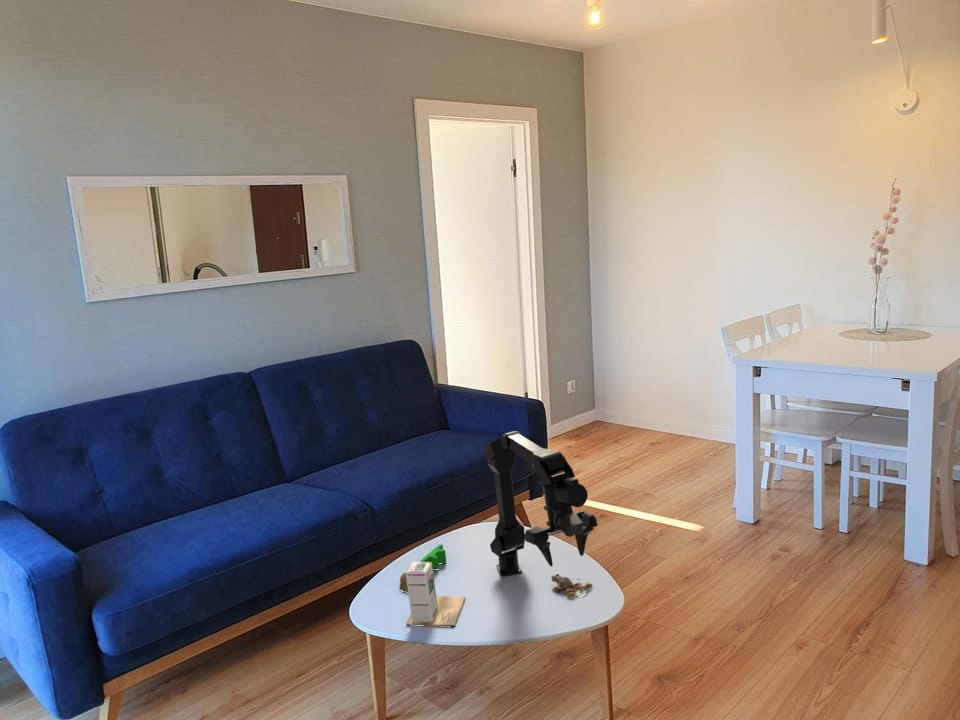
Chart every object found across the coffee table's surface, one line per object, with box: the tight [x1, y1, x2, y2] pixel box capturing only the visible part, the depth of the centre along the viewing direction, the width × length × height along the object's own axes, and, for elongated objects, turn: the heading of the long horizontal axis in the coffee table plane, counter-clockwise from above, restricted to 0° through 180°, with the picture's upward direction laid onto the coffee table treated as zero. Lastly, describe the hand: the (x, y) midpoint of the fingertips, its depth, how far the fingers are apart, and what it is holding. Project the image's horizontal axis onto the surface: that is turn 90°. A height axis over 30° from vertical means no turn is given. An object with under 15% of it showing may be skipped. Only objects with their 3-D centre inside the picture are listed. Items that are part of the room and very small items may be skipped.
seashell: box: [399, 572, 408, 593], centre depth 215 cm, size 10×4×10 cm
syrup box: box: [405, 560, 438, 622], centre depth 195 cm, size 6×6×14 cm
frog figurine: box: [550, 573, 593, 599], centre depth 205 cm, size 12×12×4 cm
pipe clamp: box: [420, 543, 447, 570], centre depth 225 cm, size 11×4×5 cm, turn 153°
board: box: [405, 595, 466, 628], centre depth 200 cm, size 13×14×1 cm
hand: (566, 560), depth 190 cm, fingers open, 9 cm apart
